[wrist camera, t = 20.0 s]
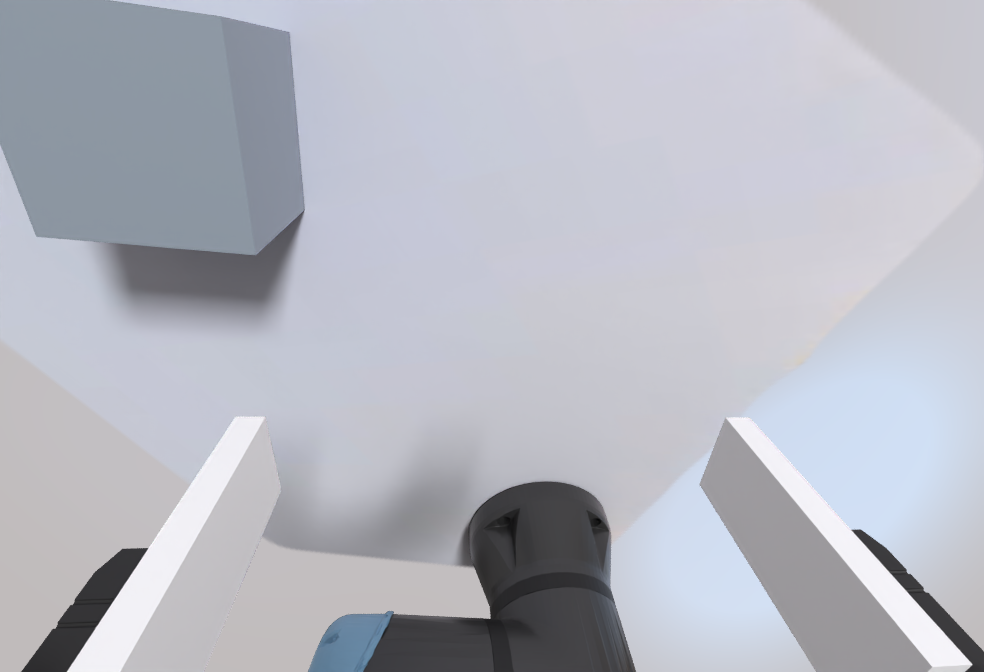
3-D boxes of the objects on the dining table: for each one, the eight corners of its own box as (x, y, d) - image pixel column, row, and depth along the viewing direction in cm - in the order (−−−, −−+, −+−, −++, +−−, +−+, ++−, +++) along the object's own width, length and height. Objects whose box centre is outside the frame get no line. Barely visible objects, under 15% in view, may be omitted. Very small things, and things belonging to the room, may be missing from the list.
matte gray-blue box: (304, 210, 31) (255, 255, 23) (143, 194, 30) (36, 236, 22) (289, 32, 26) (220, 16, 18) (94, 4, 25) (-67, -25, 17)
